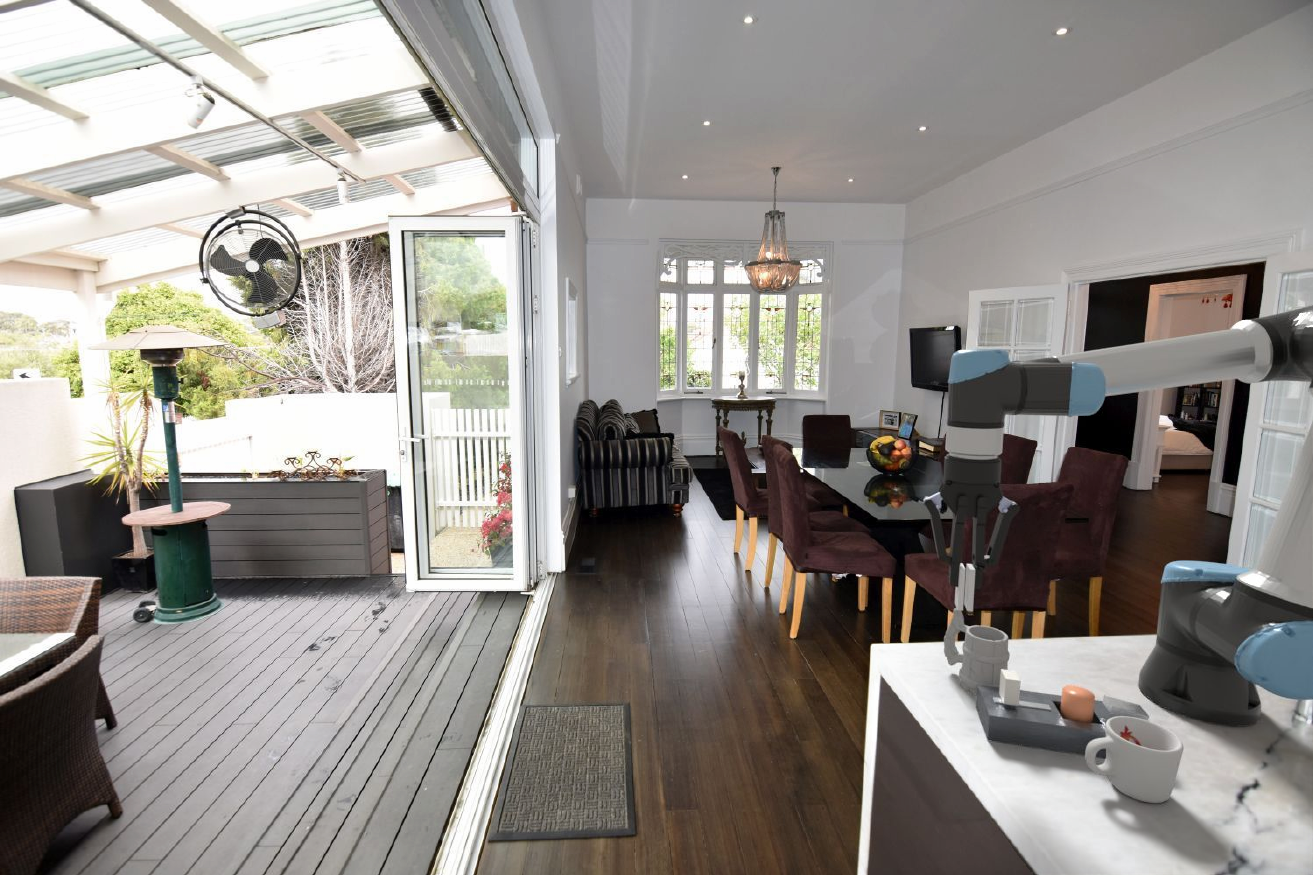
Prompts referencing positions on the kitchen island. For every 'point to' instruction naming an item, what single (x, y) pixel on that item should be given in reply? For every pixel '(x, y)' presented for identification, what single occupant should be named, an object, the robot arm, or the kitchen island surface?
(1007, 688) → the slider
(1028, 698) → the console
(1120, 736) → the cup
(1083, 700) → the button
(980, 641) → the mug
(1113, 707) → the rocker
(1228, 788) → the kitchen island surface
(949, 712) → the kitchen island surface
